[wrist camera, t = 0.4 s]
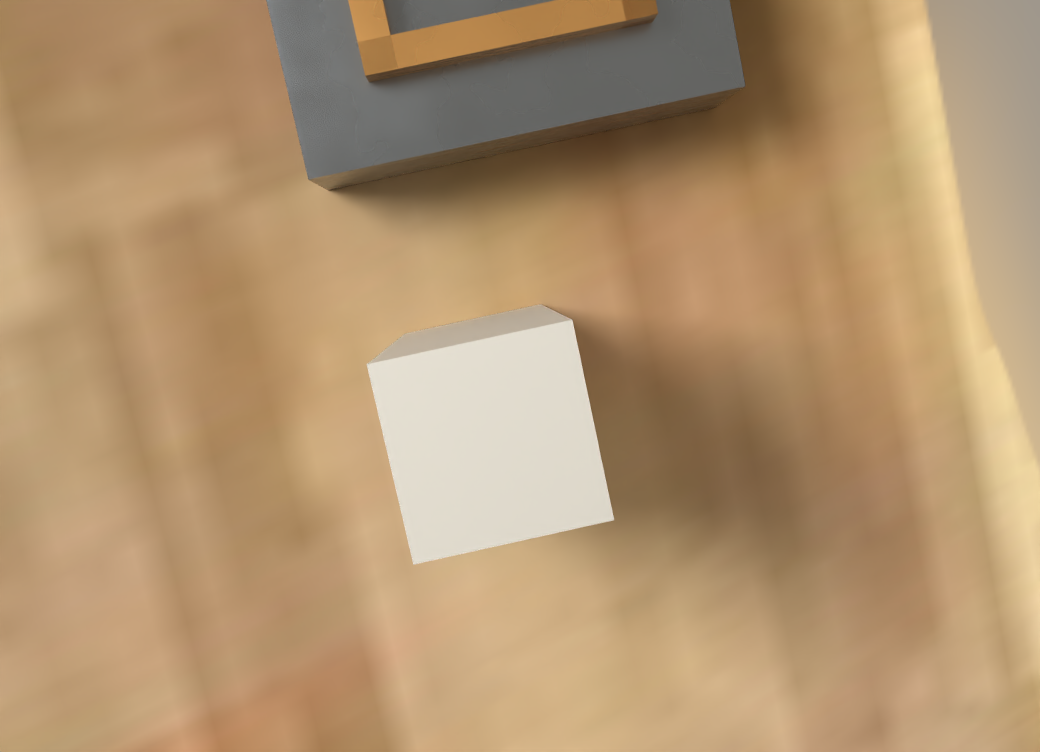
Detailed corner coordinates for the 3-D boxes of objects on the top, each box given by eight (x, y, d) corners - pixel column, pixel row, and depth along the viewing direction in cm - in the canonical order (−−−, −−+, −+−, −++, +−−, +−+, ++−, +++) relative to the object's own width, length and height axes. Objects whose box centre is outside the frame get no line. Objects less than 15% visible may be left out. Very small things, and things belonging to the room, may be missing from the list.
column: (404, 333, 35) (366, 364, 23) (540, 304, 35) (572, 319, 23) (434, 467, 36) (413, 564, 24) (568, 438, 36) (614, 520, 24)
